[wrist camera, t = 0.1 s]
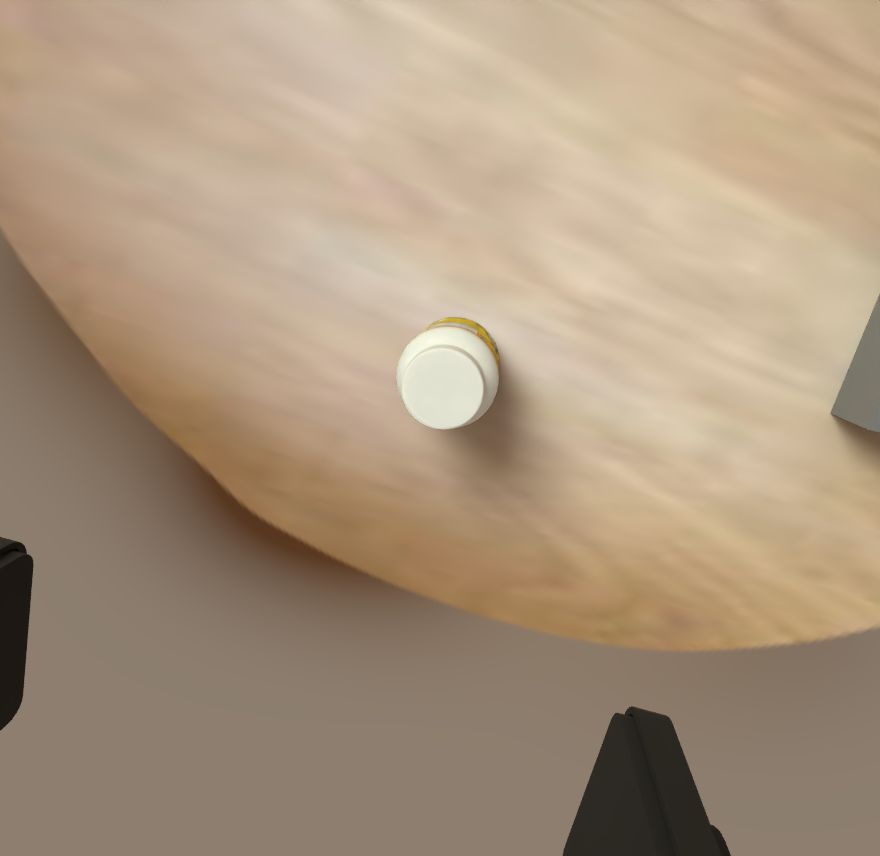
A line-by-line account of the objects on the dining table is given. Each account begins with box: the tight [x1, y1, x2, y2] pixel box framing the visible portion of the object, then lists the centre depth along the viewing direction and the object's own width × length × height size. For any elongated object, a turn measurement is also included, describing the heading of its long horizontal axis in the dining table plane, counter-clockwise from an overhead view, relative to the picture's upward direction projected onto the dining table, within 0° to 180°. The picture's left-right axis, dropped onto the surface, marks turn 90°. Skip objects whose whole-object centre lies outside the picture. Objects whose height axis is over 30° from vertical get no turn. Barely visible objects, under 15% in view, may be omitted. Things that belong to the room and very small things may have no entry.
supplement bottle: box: [397, 317, 499, 430], centre depth 35 cm, size 5×5×10 cm
